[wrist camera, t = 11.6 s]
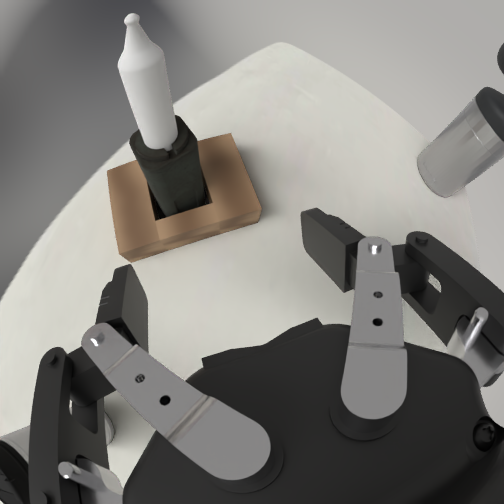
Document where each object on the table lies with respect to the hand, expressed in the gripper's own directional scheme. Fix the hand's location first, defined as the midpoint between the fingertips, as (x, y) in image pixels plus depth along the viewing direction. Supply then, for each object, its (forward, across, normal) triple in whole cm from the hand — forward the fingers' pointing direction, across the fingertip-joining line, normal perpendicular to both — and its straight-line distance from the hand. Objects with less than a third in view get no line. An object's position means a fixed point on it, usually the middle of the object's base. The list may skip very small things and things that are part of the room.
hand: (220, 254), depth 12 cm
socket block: (+22, +2, +5) cm, 23 cm away
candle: (+22, +2, +5) cm, 23 cm away
